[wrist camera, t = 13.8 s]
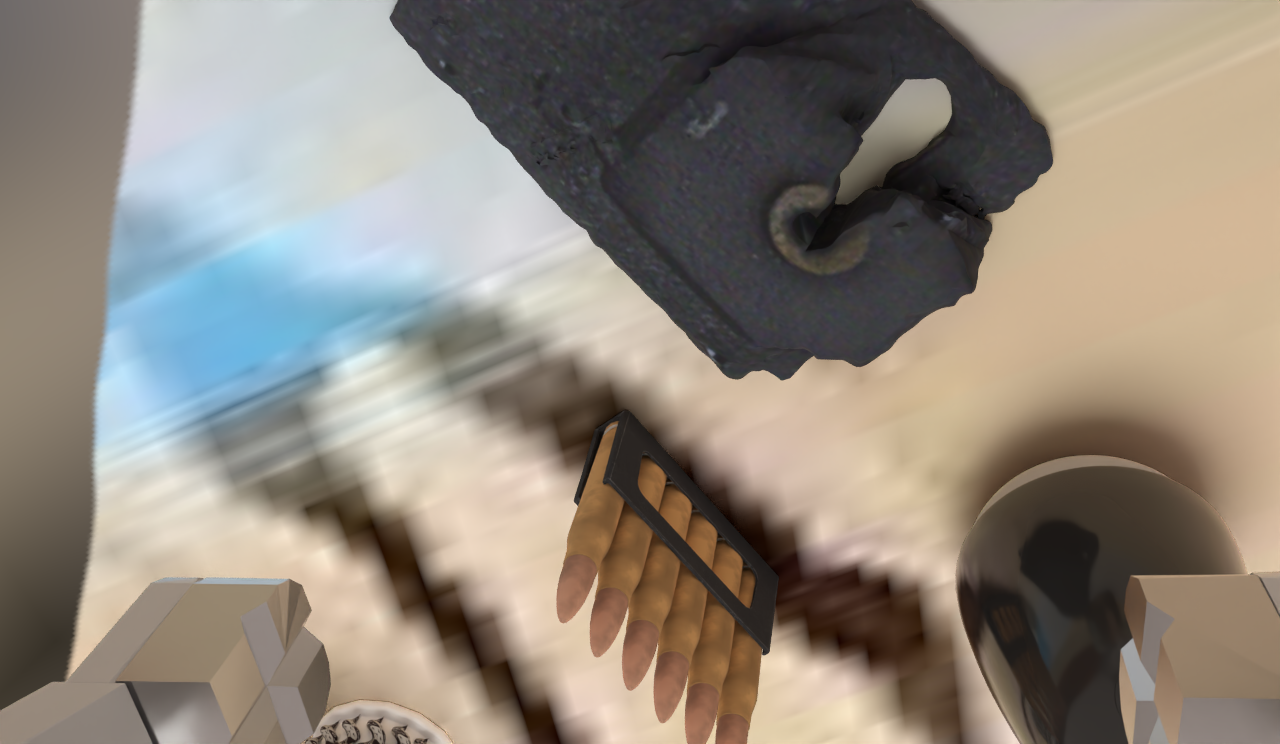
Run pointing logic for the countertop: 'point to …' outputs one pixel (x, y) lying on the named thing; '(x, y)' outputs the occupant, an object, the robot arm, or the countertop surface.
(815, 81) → the dark slate chunk
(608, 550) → the ammunition clip
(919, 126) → the countertop surface
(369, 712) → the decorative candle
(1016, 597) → the pump dispenser
